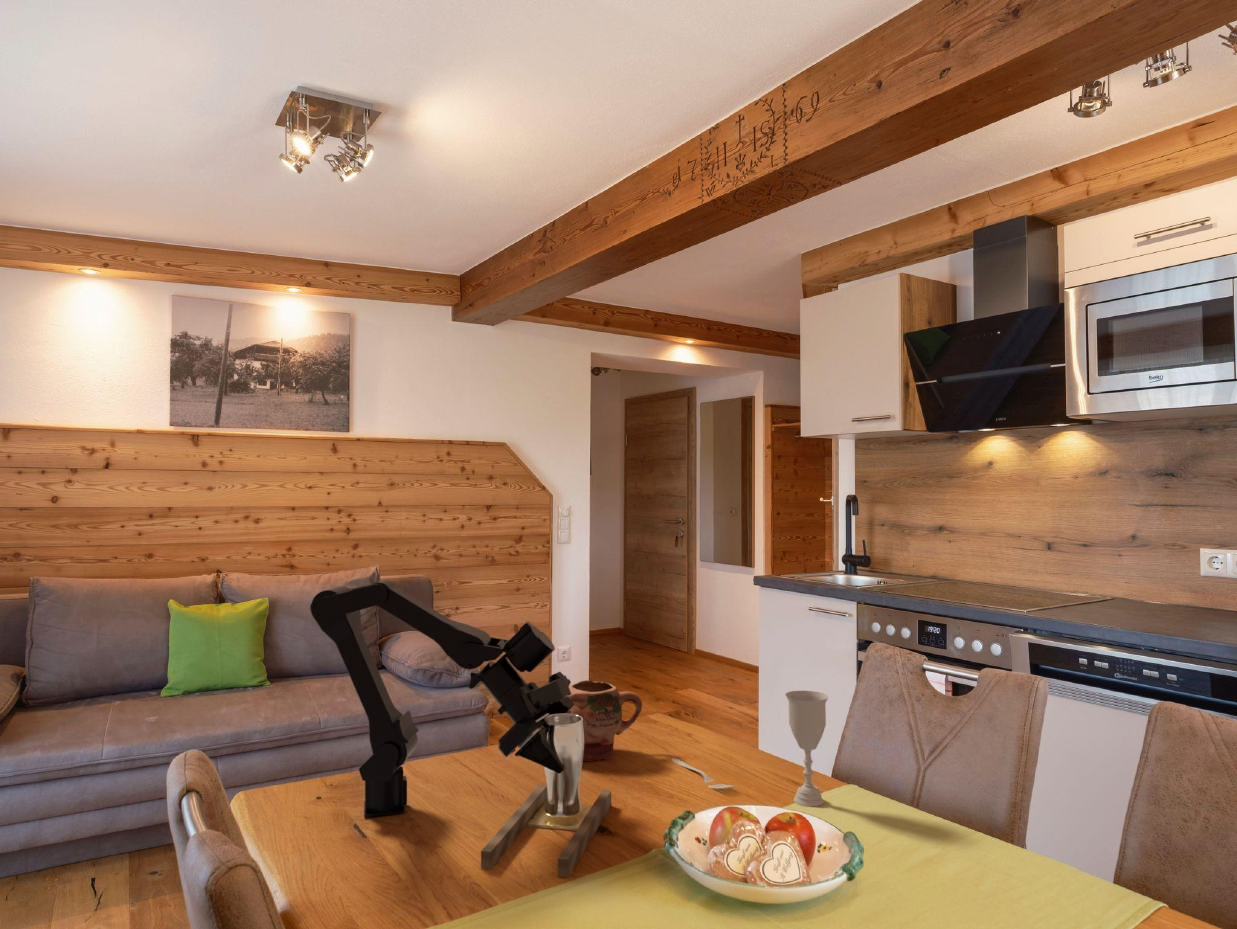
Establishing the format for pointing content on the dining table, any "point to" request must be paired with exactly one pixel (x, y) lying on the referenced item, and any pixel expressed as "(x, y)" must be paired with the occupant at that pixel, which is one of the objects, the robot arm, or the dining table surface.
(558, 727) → the beer glass
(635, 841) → the dining table surface
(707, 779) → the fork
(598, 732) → the sculpted ceramic mug
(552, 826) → the tan square coaster
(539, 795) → the channel
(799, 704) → the chalice
